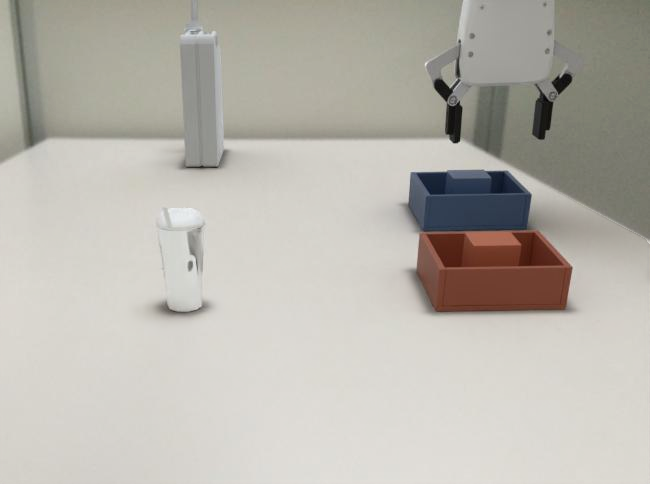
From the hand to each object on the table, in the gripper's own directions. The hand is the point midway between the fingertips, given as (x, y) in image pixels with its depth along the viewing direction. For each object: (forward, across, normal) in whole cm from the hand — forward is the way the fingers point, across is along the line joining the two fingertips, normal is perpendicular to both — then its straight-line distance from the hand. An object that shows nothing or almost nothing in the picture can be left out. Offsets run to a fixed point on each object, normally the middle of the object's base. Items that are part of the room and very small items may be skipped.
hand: (496, 139), depth 112 cm
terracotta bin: (+9, +5, +25) cm, 27 cm away
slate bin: (+9, +2, -2) cm, 10 cm away
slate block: (+9, +2, -2) cm, 9 cm away
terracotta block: (+9, +5, +25) cm, 27 cm away
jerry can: (+8, +36, -39) cm, 53 cm away
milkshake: (+9, +35, +29) cm, 46 cm away
